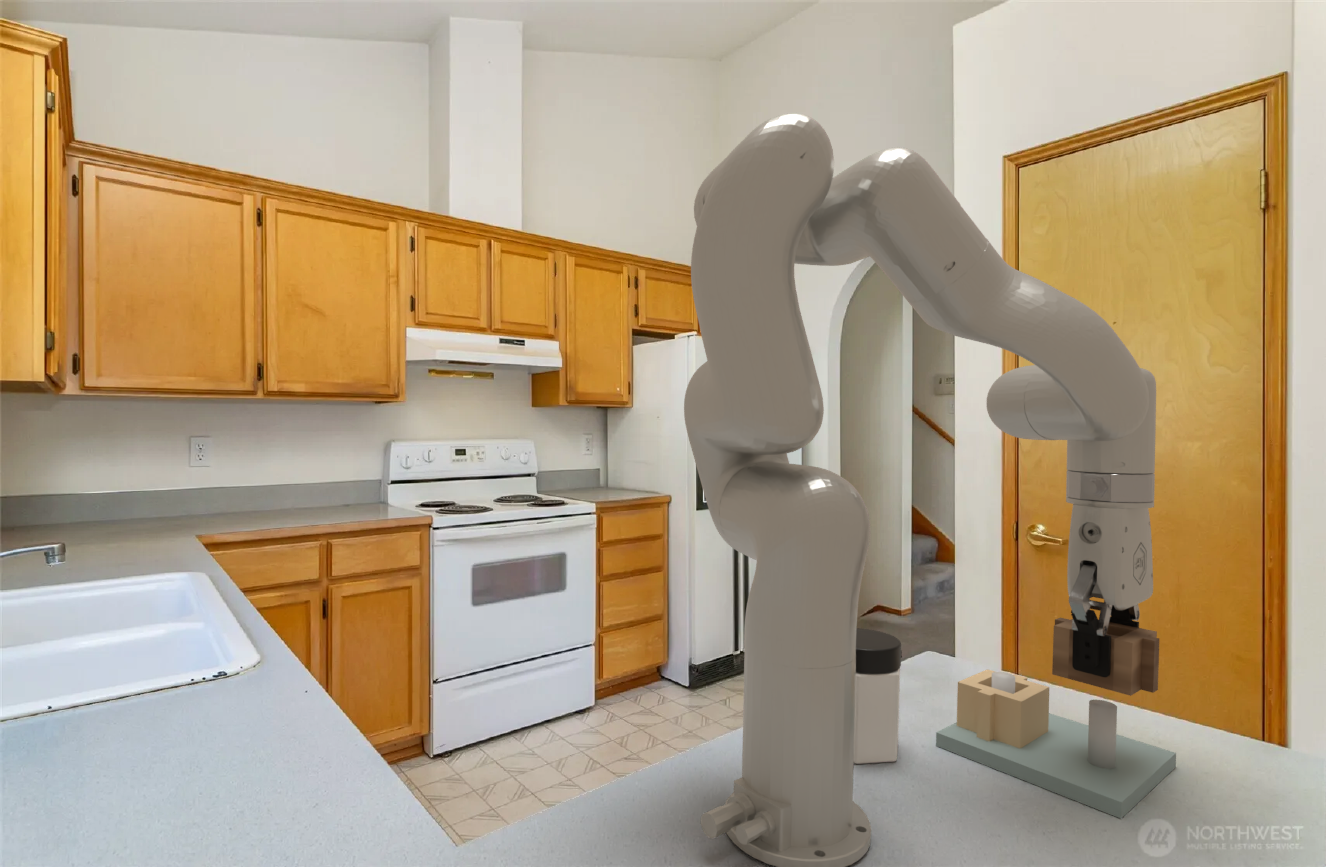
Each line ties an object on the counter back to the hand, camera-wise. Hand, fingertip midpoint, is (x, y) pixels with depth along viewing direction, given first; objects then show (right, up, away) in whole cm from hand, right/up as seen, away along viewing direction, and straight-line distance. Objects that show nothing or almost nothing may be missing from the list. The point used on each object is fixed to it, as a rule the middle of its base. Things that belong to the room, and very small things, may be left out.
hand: (1106, 663), depth 71 cm
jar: (-23, -11, +6) cm, 27 cm away
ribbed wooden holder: (0, -1, 0) cm, 1 cm away
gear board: (-3, -12, +5) cm, 13 cm away
